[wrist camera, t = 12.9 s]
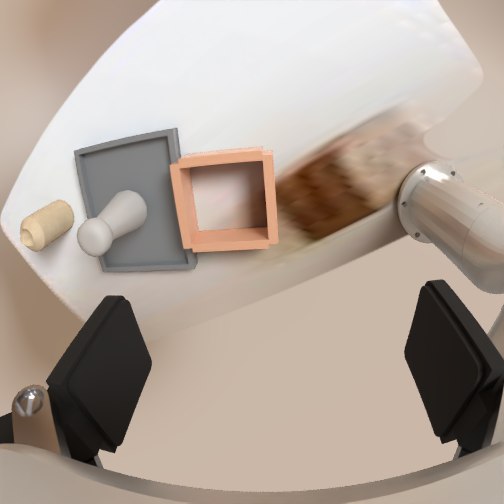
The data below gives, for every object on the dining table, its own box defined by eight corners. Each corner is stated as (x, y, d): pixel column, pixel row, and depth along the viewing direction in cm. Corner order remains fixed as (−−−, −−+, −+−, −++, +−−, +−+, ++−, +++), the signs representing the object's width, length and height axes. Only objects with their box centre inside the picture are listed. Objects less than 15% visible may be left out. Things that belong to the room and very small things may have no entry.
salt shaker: (144, 230, 42) (103, 274, 31) (112, 213, 41) (65, 250, 30) (158, 197, 40) (116, 232, 28) (125, 179, 39) (74, 208, 27)
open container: (272, 145, 37) (272, 149, 33) (277, 234, 42) (278, 247, 38) (179, 155, 38) (168, 160, 34) (192, 239, 43) (184, 252, 39)
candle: (57, 232, 44) (22, 258, 35) (47, 203, 42) (10, 225, 33) (78, 226, 44) (43, 253, 35) (68, 196, 41) (30, 217, 32)
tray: (177, 127, 36) (172, 128, 35) (197, 262, 45) (194, 268, 43) (81, 148, 38) (73, 150, 36) (108, 266, 46) (103, 272, 45)
